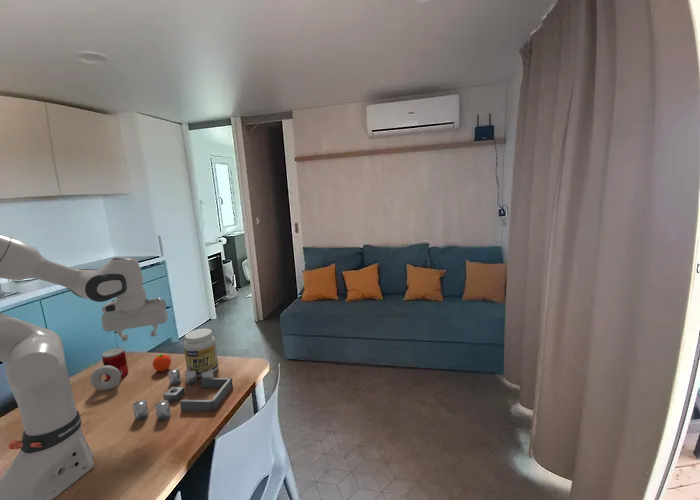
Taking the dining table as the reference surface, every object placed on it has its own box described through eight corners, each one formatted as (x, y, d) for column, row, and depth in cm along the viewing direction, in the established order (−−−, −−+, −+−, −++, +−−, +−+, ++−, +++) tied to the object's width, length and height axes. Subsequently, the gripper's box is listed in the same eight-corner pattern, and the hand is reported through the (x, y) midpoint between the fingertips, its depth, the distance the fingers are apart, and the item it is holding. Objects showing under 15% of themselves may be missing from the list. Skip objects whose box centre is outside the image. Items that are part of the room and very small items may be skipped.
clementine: (151, 369, 151) (148, 354, 150) (168, 363, 156) (166, 348, 155) (156, 376, 146) (153, 360, 144) (174, 369, 150) (171, 354, 149)
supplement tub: (186, 381, 140) (180, 341, 137) (189, 367, 152) (183, 330, 149) (218, 374, 144) (213, 335, 141) (219, 361, 155) (214, 325, 152)
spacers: (180, 421, 115) (178, 407, 115) (129, 420, 117) (127, 407, 116) (216, 379, 140) (214, 368, 139) (173, 379, 142) (171, 368, 141)
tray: (214, 411, 120) (212, 401, 119) (181, 410, 121) (179, 401, 121) (232, 386, 135) (231, 378, 134) (203, 386, 136) (202, 378, 135)
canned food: (132, 371, 151) (128, 347, 149) (119, 381, 143) (114, 356, 141) (116, 371, 152) (112, 347, 150) (101, 381, 144) (97, 356, 142)
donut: (123, 384, 141) (119, 361, 139) (121, 389, 137) (116, 365, 136) (94, 390, 138) (90, 366, 136) (91, 395, 134) (86, 371, 133)
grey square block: (177, 402, 126) (175, 394, 126) (164, 402, 127) (163, 394, 127) (185, 394, 131) (184, 386, 131) (173, 394, 132) (171, 386, 132)
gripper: (166, 294, 129) (173, 329, 132) (104, 303, 124) (111, 339, 127) (162, 299, 123) (169, 336, 126) (96, 309, 118) (104, 346, 121)
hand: (139, 338), depth 126 cm, fingers open, 8 cm apart
